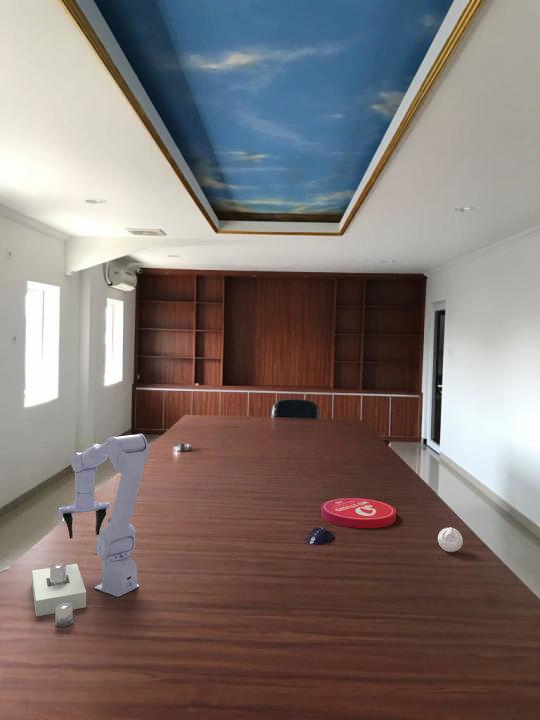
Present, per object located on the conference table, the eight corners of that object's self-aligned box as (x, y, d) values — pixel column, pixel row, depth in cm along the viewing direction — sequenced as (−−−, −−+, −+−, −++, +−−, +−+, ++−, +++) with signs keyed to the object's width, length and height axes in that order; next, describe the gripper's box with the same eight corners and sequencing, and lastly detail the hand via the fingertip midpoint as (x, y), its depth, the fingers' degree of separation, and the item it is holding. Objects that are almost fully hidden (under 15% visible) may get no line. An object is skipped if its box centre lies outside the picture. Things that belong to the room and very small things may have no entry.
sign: (306, 514, 224) (363, 534, 201) (306, 506, 224) (363, 525, 201) (353, 502, 244) (410, 518, 221) (353, 494, 244) (410, 510, 221)
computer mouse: (297, 542, 192) (297, 531, 192) (318, 531, 204) (318, 520, 204) (320, 548, 187) (320, 536, 187) (340, 536, 199) (340, 525, 199)
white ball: (437, 553, 183) (437, 530, 183) (438, 545, 190) (438, 523, 190) (462, 556, 181) (462, 533, 180) (462, 548, 188) (463, 526, 188)
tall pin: (68, 594, 148) (69, 565, 148) (56, 600, 145) (56, 570, 145) (59, 590, 150) (59, 561, 150) (46, 596, 147) (47, 566, 147)
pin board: (86, 607, 141) (86, 592, 141) (35, 616, 136) (35, 600, 136) (76, 577, 159) (76, 563, 159) (31, 584, 154) (32, 570, 154)
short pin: (74, 623, 133) (75, 607, 133) (57, 628, 130) (58, 611, 130) (69, 617, 136) (70, 601, 136) (53, 621, 134) (53, 605, 134)
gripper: (107, 485, 172) (106, 528, 172) (57, 490, 166) (57, 534, 166) (111, 491, 166) (110, 535, 166) (60, 496, 159) (59, 542, 160)
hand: (84, 535), depth 166 cm, fingers open, 7 cm apart
